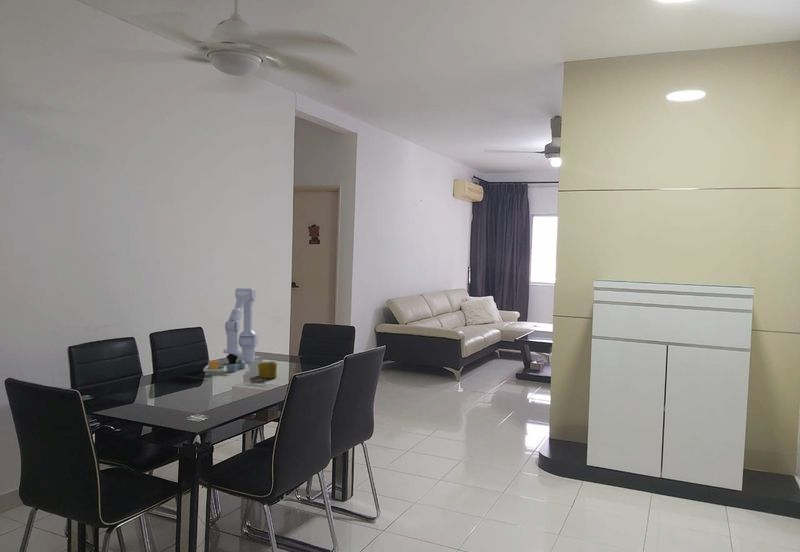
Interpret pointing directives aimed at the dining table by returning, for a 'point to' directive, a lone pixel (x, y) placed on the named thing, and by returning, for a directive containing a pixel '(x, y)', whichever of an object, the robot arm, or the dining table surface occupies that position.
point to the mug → (267, 370)
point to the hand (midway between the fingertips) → (232, 368)
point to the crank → (236, 366)
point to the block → (214, 364)
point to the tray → (215, 369)
